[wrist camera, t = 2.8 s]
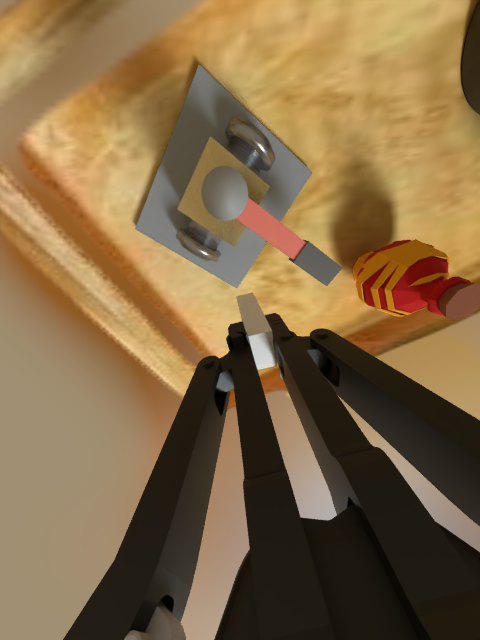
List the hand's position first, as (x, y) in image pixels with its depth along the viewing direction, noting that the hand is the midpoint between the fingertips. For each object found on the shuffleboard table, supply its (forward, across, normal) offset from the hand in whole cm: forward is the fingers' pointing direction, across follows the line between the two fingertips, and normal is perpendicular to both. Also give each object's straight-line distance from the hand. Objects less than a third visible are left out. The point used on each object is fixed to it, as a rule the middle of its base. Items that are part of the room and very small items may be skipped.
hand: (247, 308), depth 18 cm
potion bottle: (+15, +22, -5) cm, 27 cm away
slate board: (+15, 0, +9) cm, 18 cm away
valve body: (+15, 0, +9) cm, 18 cm away
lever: (+6, +5, +5) cm, 9 cm away
